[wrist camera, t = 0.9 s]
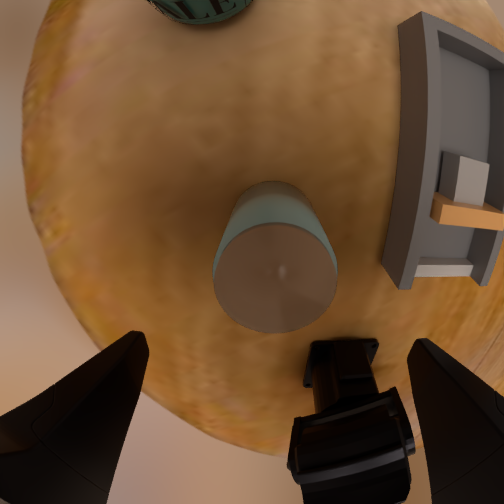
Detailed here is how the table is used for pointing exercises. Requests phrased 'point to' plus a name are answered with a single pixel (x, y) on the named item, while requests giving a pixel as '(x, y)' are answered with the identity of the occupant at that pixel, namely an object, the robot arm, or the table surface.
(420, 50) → the gray rectangular tray
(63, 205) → the table surface
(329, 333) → the table surface
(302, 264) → the jar
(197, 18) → the beverage bottle
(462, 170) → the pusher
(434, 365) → the robot arm
